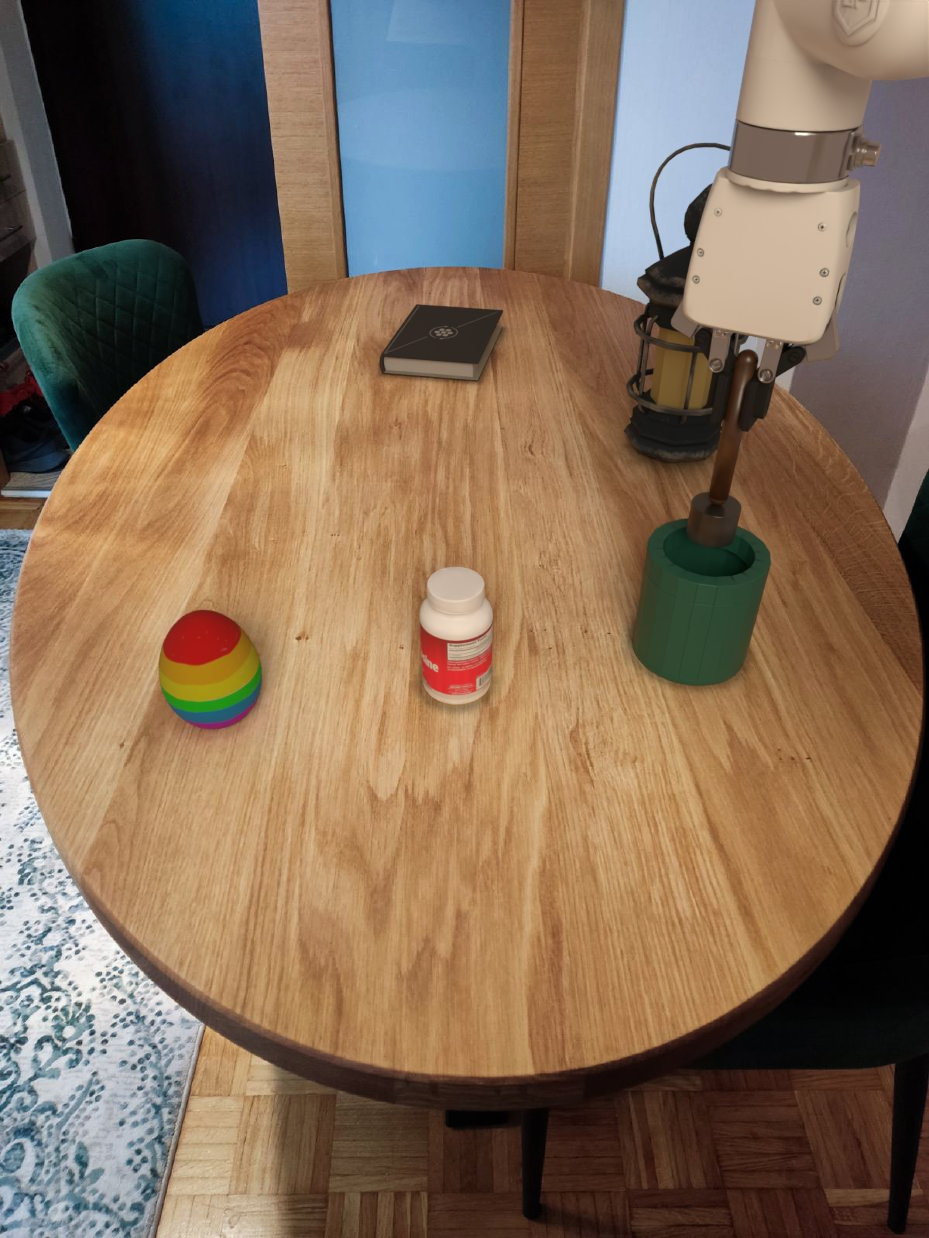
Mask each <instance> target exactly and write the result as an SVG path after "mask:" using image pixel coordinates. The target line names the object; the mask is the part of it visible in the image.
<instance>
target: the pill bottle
mask: <svg viewBox="0 0 929 1238" xmlns="http://www.w3.org/2000/svg"><path fill="white" fill-rule="evenodd" d="M485 585H486V584H485V580H484V578H483V576H482V575H481V574H480V573H478V572H477V571H475V570H473V569H472V568H468V567H465V566H447V567H443V568H440V569H438V570H435V571H434V572H433V573H432V574H431V575H430V576H429V577H428V579H427V582H426V597H425V599H424V600H423V601H422V603H421V605H420V607H419V614H418V615H419V616H418V619H419V622H418V623H419V643H420V644H419V645H420V663H421V666H420V667H421V680H422V685H423V688H424V690H425V691H426V692H427V694H428V695H429V696H430V697H431V698H433V699H435V701H438V702H439V703H440V702H441V703H443V704H448V705H465V704H470V703H472V702H475V701H477V700H479V699H481V698H482V697H483V696H484V695H485V694H486V693H487V692H488V690H489V689H490V687H491V684H492V677H493V631H494V630H493V628H494V612H493V607H492V604H491V603H490V601H489V600H488V598H486V590H485V589H486V588H485Z"/></svg>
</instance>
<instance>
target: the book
mask: <svg viewBox="0 0 929 1238" xmlns="http://www.w3.org/2000/svg"><path fill="white" fill-rule="evenodd" d="M503 313H504V310H503V309H494V308H493V309H492V308H480V307H466V306H465V307H462V306H448V305H434V304H422V303H421V304H419V303H417V304H415V305H414V306H413V308H412V310H411V311H410V312H409V314H408V315H407V317H406V318H405V319H404V321H403V322H402V323H401V325H400V326H399V328H398V329H397V331H396V332H395V334H394V335H393V336H392V338H391V339H390V341H389V342H388V343H387V344H386V346H385V348H384V349H383V351H381V353H380V356H379V361H378V365H379V369H380V372H381V375H391V376H393V375H394V376H404V377H413V378H414V377H416V378H429V379H439V380H440V379H441V380H450V381H451V380H452V381H464V382H465V381H466V382H479V380H480V379H481V376H482V374H483V372H484V370H485V368H486V365H487V363H488V361H489V359H490V356H491V354H492V352H493V350H494V347H495V346H496V344H497V341H498V339H499V337H500V335H501V333H502V330H503V326H501V325H498V324H499V322H500V320H501V317H502V316H503Z"/></svg>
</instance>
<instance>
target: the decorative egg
mask: <svg viewBox="0 0 929 1238" xmlns="http://www.w3.org/2000/svg"><path fill="white" fill-rule="evenodd" d="M262 669H263V668H262V663H261V659H260V655H259V653H258V650H257V648H256V646H255V644H254V642H253V640H252V639H251V637H250V636H249V634H248V633H247V632H246V631H245V630H244V628H243V627H242V626H241V625H239V624H238V623H237V622H236V621H235V620H234V619H233V618H230V617H229V616H227V615H225V614H223V613H221V612H219V611H216V610H211V609H196V610H193V611H190V612H188V613H186V614H184V615H182V616H181V617H180V618H178V619H177V620H176V621H175V622H174V624H172V625H171V627H170V629H169V630H168V632H167V634H166V636H165V637H164V640H163V642H162V644H161V648H160V652H159V657H158V679H159V684H160V688H161V692H162V694H163V696H164V698H165V701H166V702H167V704H168V706H169V707H170V708H171V710H172V711H173V712H174V713H175V714H176V715H177V716H178V717H179V718H180V719H182V721H184V722H186V723H187V724H190V725H192V726H194V727H196V728H200V729H204V730H220V729H224V728H228V727H230V726H233V725H236V724H237V723H239V722H240V721H242V720H243V719H244V718H245V717H247V715H248V714H249V713H250V712H251V711H252V710H253V707H255V705H256V703H257V701H258V699H259V695H260V693H261V689H262V683H263V670H262Z"/></svg>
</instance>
